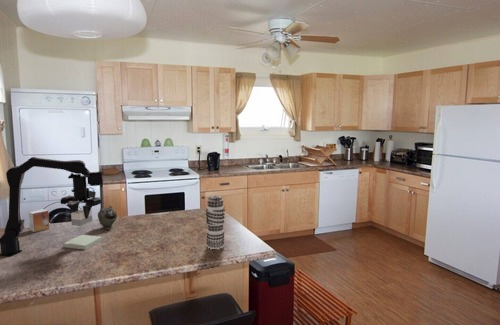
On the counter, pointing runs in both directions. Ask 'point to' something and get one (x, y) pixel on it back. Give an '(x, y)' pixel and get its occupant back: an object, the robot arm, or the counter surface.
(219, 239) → the tower model
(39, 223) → the small box
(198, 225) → the counter surface
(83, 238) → the stand
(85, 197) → the robot arm
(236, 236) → the counter surface
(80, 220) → the block
